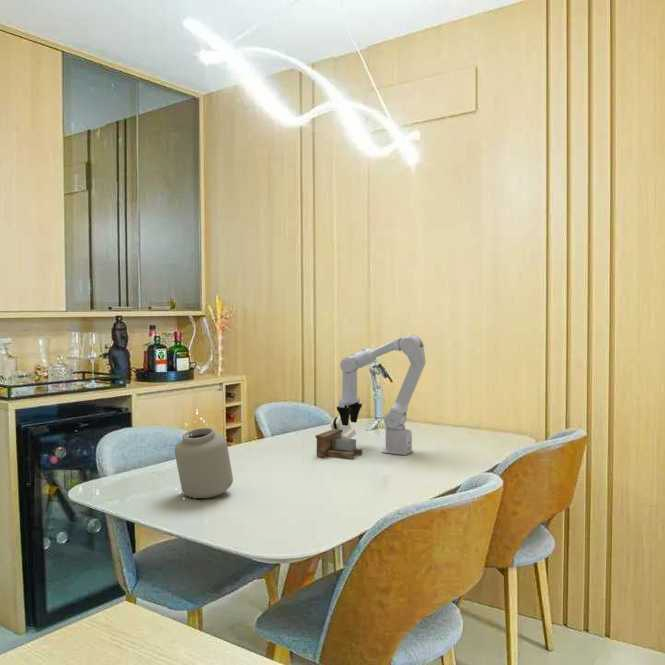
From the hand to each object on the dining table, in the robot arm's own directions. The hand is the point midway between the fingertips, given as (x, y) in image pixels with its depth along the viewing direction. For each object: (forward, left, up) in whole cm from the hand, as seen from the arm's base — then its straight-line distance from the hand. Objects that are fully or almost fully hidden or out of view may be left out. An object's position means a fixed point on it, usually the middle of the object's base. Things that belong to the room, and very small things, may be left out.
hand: (349, 423), depth 253 cm
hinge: (+12, -19, -10) cm, 24 cm away
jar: (+10, +77, -10) cm, 78 cm away
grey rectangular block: (-4, +12, -10) cm, 16 cm away
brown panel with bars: (-2, +12, -9) cm, 15 cm away
